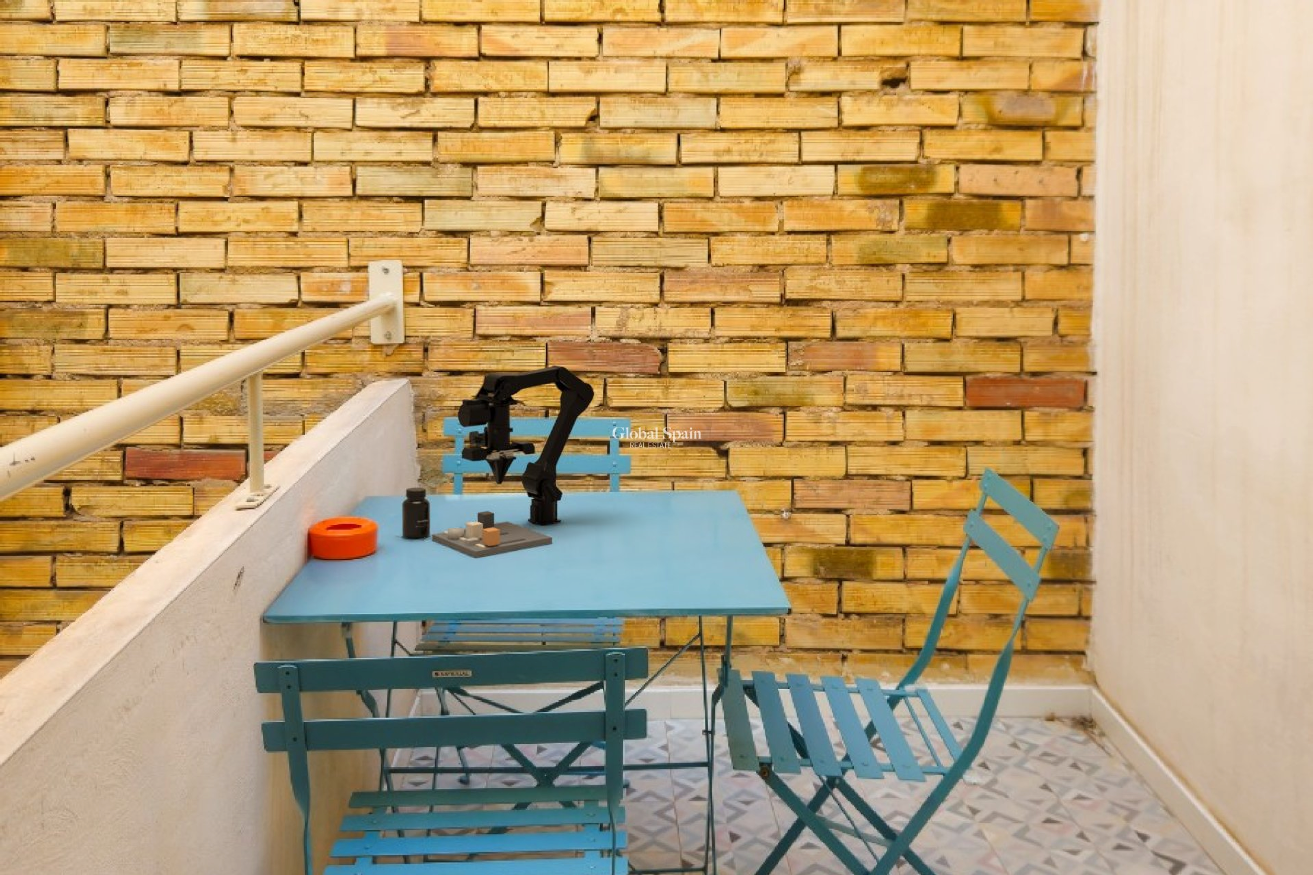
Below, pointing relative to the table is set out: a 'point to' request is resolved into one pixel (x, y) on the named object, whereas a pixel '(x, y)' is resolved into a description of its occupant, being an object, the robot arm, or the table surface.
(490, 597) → the table surface
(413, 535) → the supplement bottle
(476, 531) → the ivory slider
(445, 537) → the control board
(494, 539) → the orange slider
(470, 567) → the table surface
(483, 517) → the dark brown slider
